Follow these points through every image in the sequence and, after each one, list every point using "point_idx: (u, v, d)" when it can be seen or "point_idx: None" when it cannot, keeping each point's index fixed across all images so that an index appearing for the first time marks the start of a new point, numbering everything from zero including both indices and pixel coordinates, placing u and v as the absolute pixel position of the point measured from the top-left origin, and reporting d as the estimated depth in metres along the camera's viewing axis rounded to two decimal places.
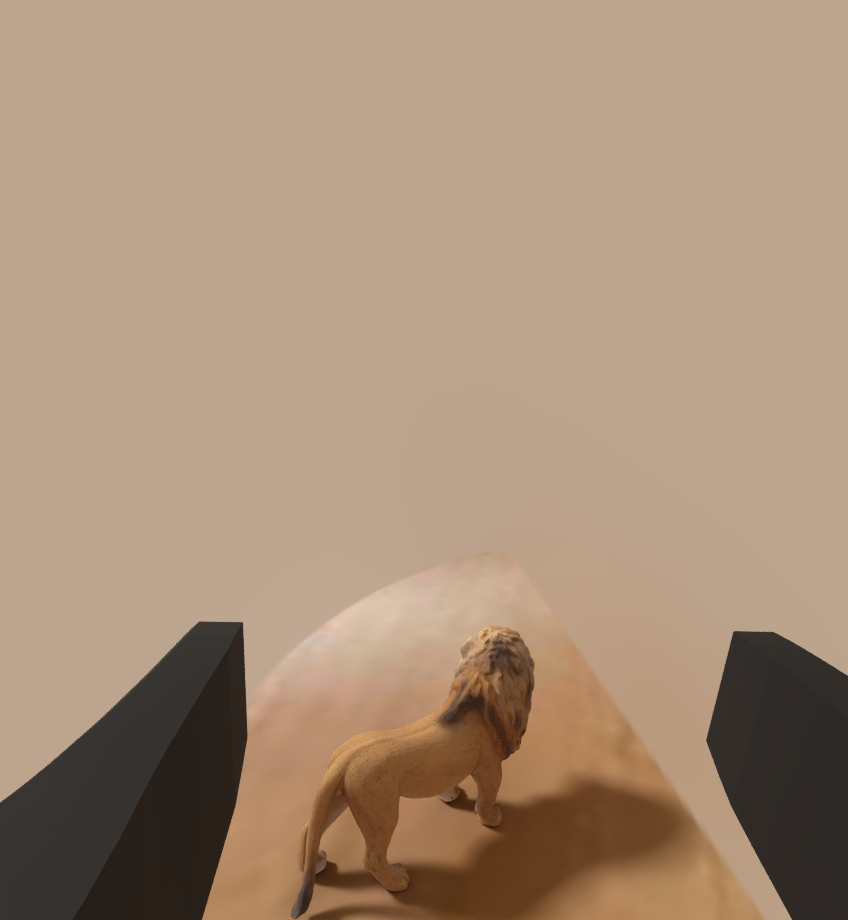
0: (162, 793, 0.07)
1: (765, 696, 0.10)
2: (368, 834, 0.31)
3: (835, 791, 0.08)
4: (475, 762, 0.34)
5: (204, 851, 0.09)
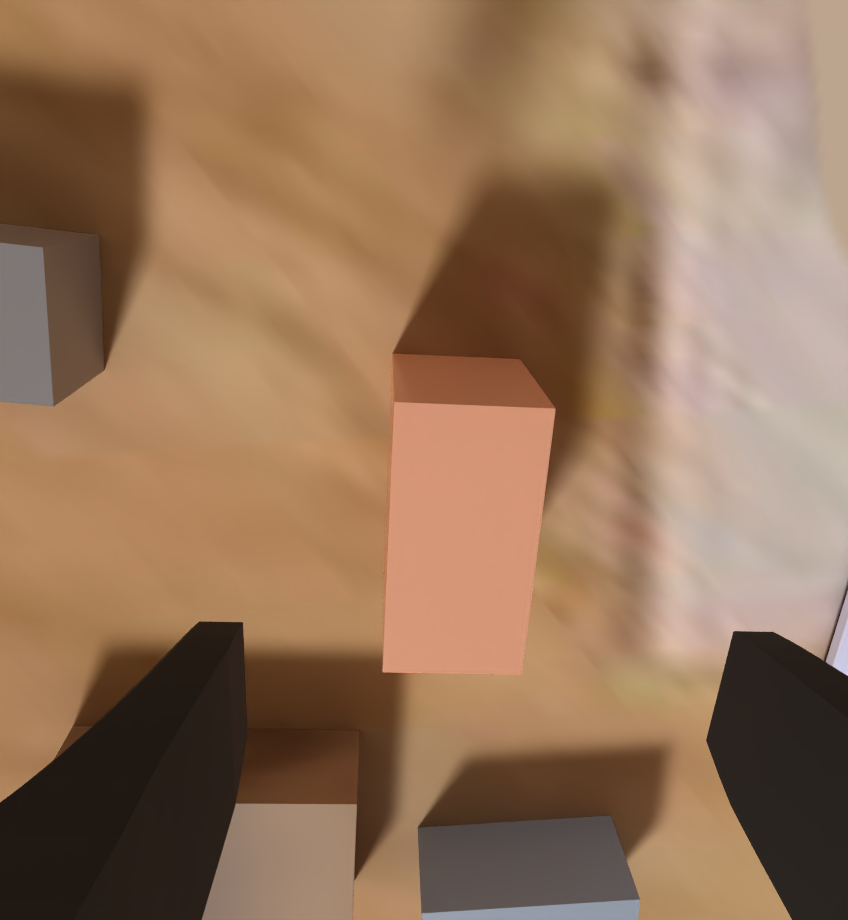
0: (162, 793, 0.07)
1: (765, 696, 0.10)
2: None
3: (835, 791, 0.08)
4: None
5: (204, 851, 0.09)
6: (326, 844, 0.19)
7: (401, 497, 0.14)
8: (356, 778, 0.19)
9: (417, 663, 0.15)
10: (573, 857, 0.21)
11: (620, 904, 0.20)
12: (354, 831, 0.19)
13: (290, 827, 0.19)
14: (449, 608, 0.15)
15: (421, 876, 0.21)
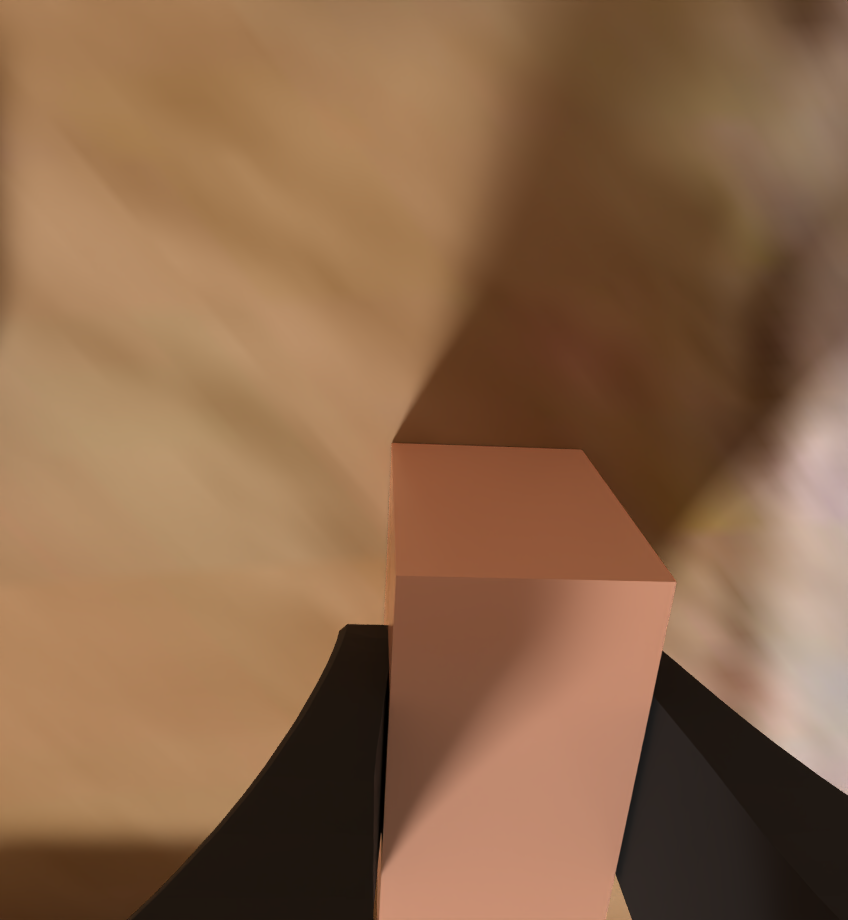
0: (373, 794, 0.07)
1: None
2: None
3: (662, 791, 0.08)
4: None
5: (376, 850, 0.09)
6: None
7: (408, 723, 0.08)
8: None
9: None
10: None
11: None
12: None
13: None
14: (485, 879, 0.09)
15: None
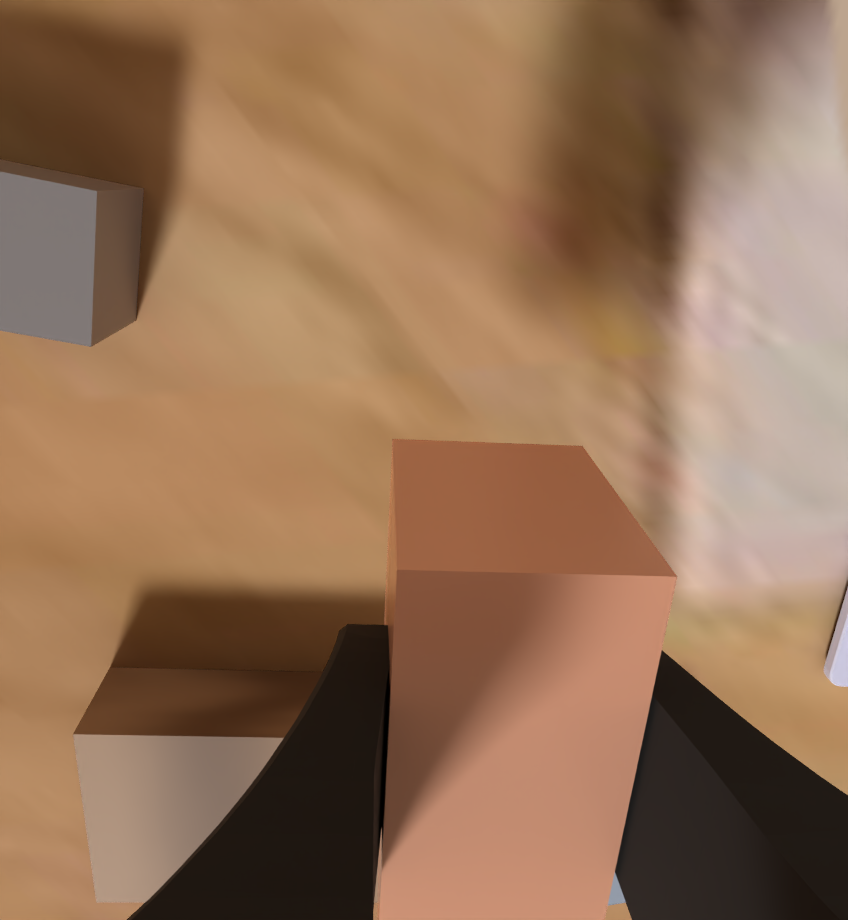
0: None
1: None
2: None
3: (662, 790, 0.08)
4: None
5: (376, 850, 0.09)
6: None
7: (408, 717, 0.08)
8: None
9: None
10: None
11: None
12: None
13: None
14: (485, 873, 0.09)
15: None
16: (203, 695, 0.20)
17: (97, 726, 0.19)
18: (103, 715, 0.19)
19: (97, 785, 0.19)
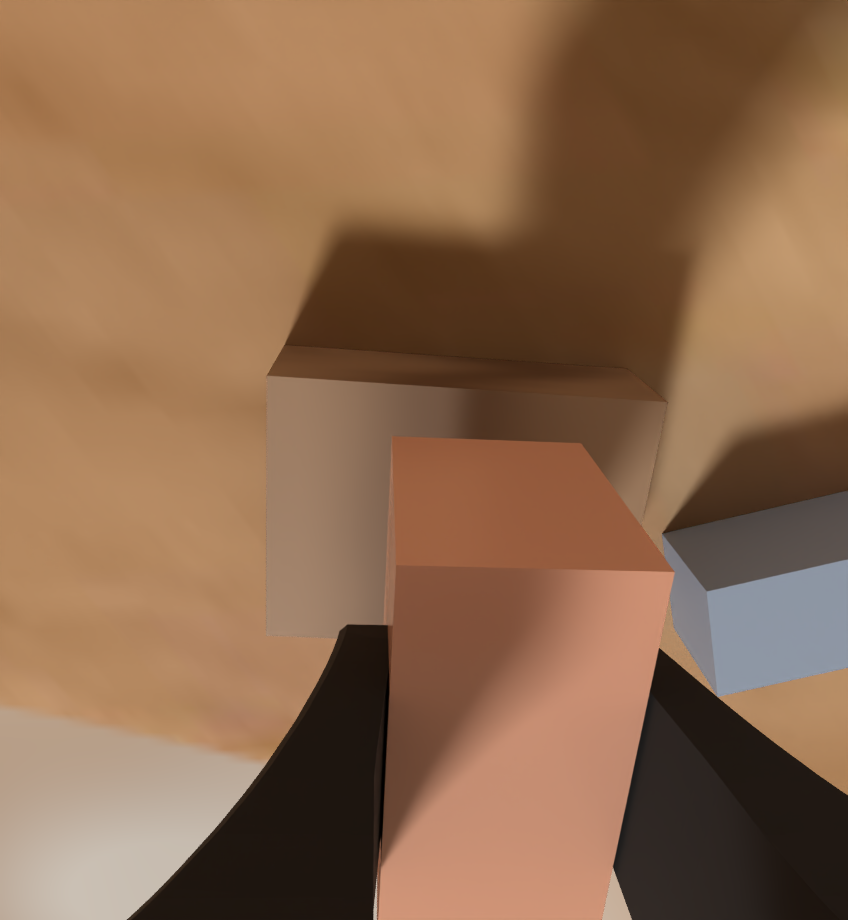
0: (374, 794, 0.07)
1: None
2: None
3: (662, 791, 0.08)
4: None
5: (376, 851, 0.09)
6: (619, 462, 0.15)
7: (407, 712, 0.08)
8: (651, 390, 0.15)
9: None
10: None
11: None
12: (657, 444, 0.15)
13: (580, 434, 0.15)
14: (484, 867, 0.09)
15: (689, 565, 0.17)
16: (412, 365, 0.16)
17: (293, 374, 0.14)
18: (297, 368, 0.15)
19: (288, 457, 0.15)
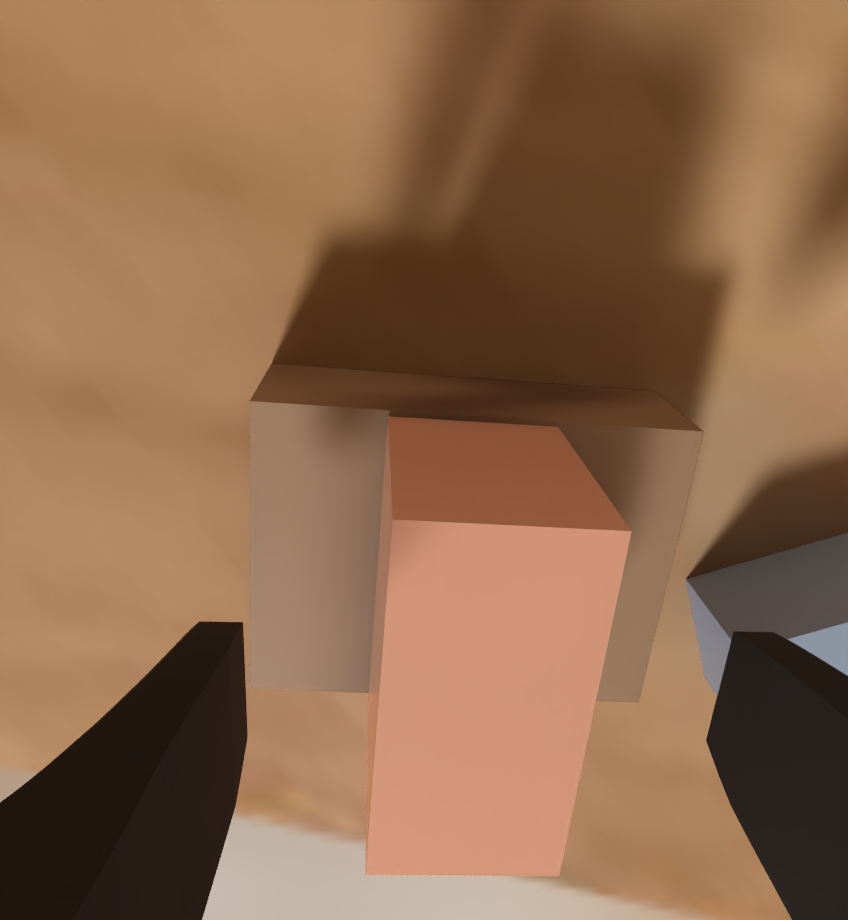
0: (163, 793, 0.07)
1: (765, 696, 0.10)
2: None
3: (835, 791, 0.08)
4: None
5: (204, 851, 0.09)
6: (648, 498, 0.13)
7: (398, 651, 0.10)
8: (683, 416, 0.14)
9: (415, 863, 0.11)
10: None
11: None
12: (690, 478, 0.13)
13: (604, 467, 0.13)
14: (463, 796, 0.11)
15: (718, 619, 0.16)
16: (415, 387, 0.14)
17: (280, 399, 0.13)
18: (285, 391, 0.13)
19: (274, 492, 0.13)
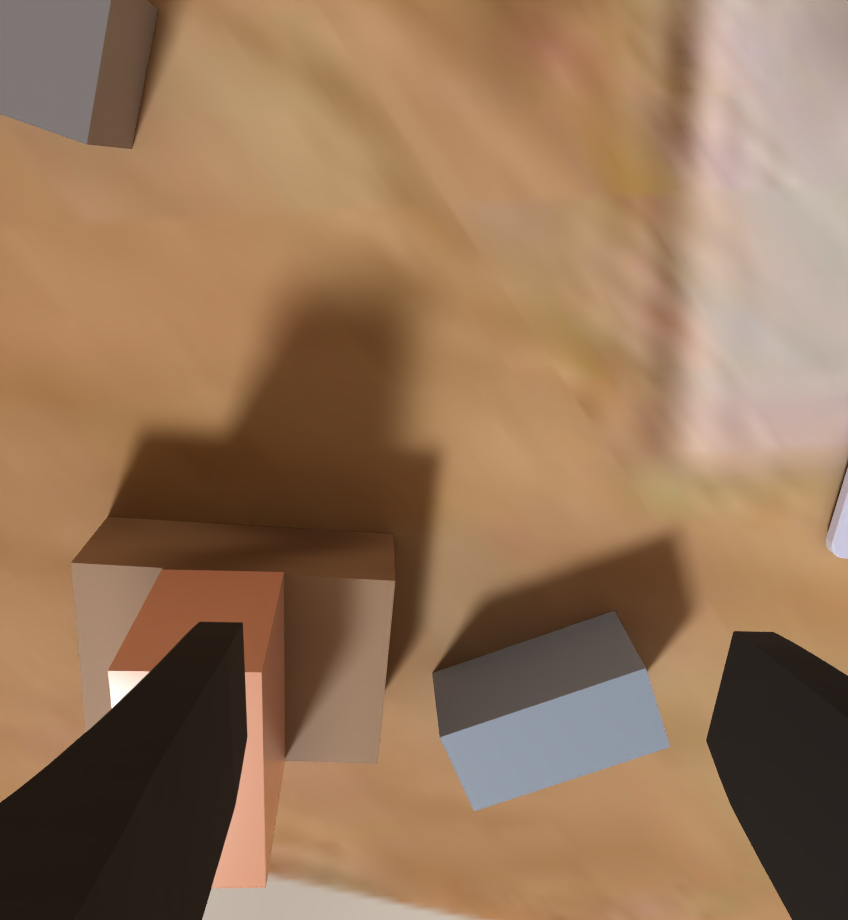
0: (162, 792, 0.07)
1: (765, 696, 0.10)
2: None
3: (835, 791, 0.08)
4: None
5: (204, 851, 0.09)
6: (362, 624, 0.19)
7: None
8: (393, 564, 0.19)
9: None
10: (580, 654, 0.21)
11: (628, 678, 0.20)
12: (391, 611, 0.19)
13: (327, 604, 0.19)
14: None
15: (437, 709, 0.21)
16: (204, 540, 0.20)
17: (96, 558, 0.18)
18: (102, 550, 0.19)
19: (93, 621, 0.19)
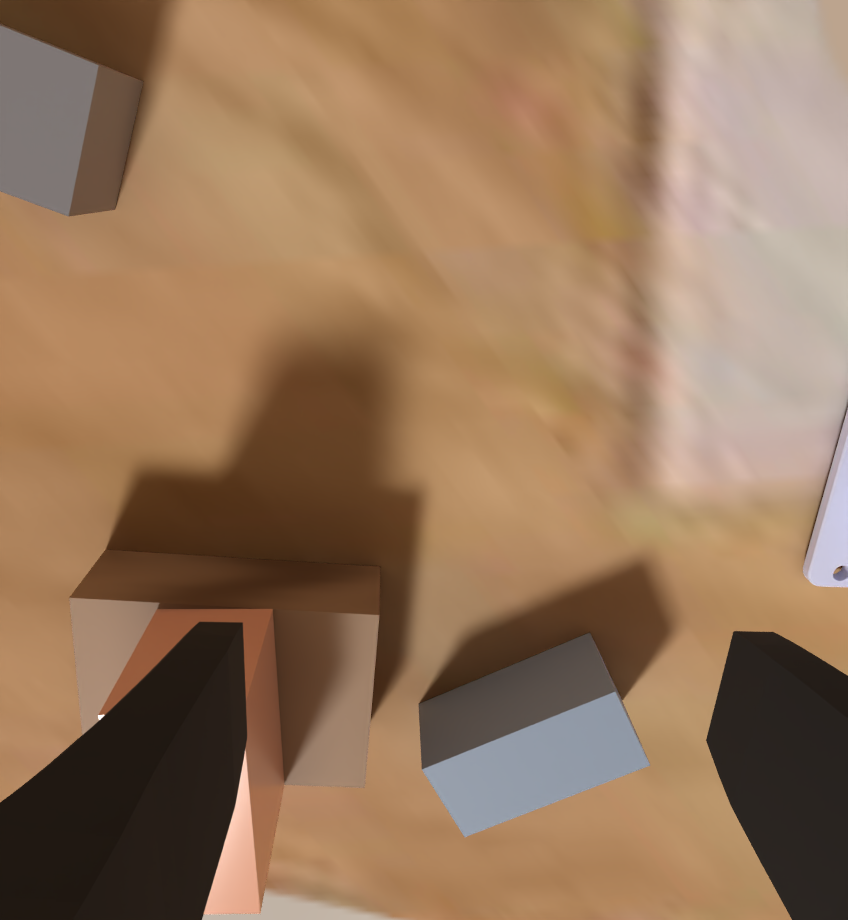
0: (162, 793, 0.07)
1: (765, 696, 0.10)
2: None
3: (835, 791, 0.08)
4: None
5: (204, 851, 0.09)
6: (348, 656, 0.20)
7: None
8: (378, 597, 0.20)
9: None
10: (555, 679, 0.22)
11: (599, 702, 0.20)
12: (375, 644, 0.20)
13: (314, 637, 0.20)
14: None
15: (421, 740, 0.22)
16: (197, 573, 0.20)
17: (93, 593, 0.19)
18: (99, 584, 0.19)
19: (91, 652, 0.19)
